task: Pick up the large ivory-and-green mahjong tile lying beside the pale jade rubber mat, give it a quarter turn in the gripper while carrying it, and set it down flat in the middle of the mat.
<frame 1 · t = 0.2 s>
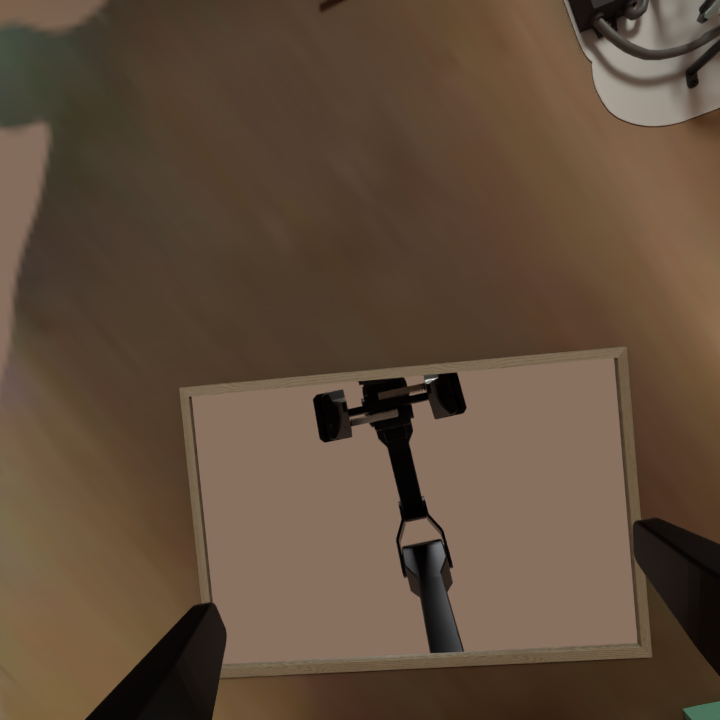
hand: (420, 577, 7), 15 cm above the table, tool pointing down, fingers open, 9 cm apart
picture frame: (408, 510, 24), on the table
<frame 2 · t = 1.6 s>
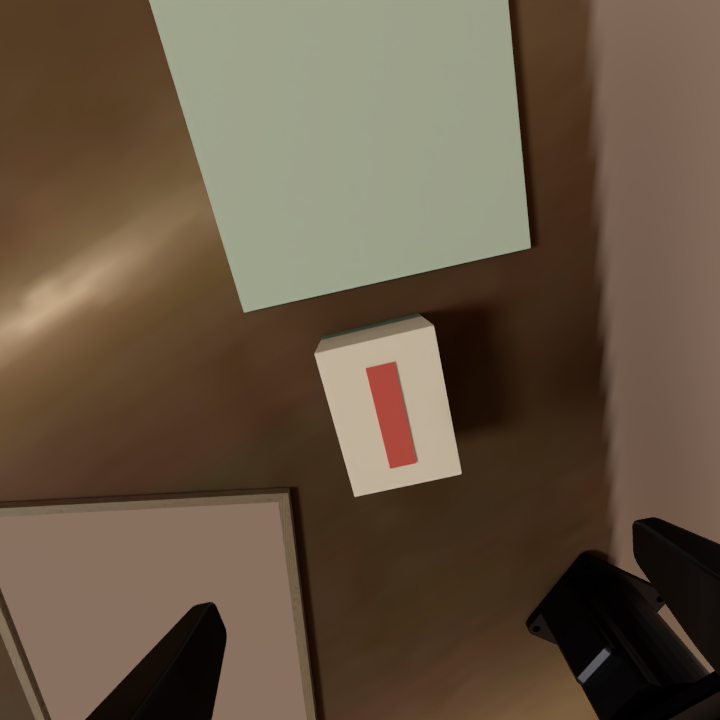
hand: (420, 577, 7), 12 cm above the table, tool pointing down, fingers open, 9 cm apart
mat: (349, 110, 16), on the table
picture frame: (175, 664, 25), on the table
mahjong tile: (384, 386, 19), on the table
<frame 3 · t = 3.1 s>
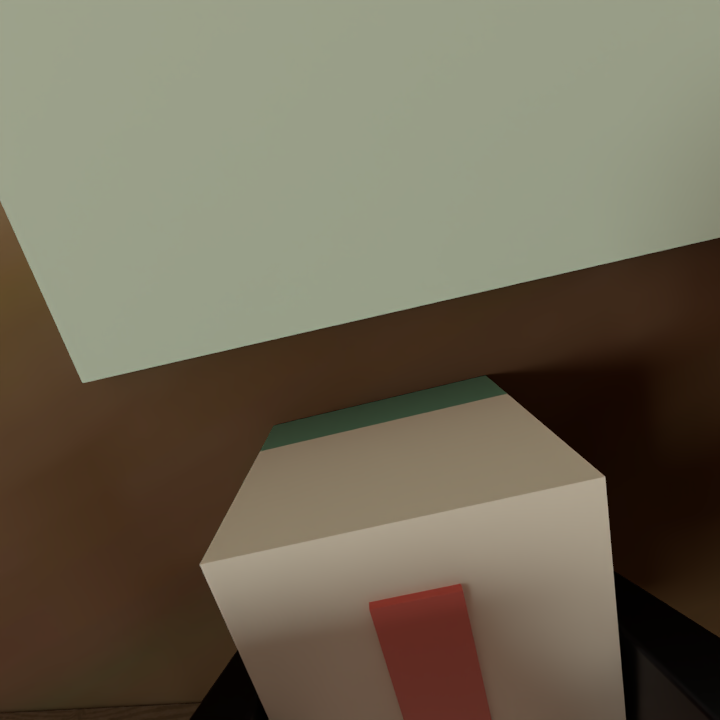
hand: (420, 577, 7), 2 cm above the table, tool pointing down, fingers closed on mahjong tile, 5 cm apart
mahjong tile: (409, 526, 9), on the table, touching gripper
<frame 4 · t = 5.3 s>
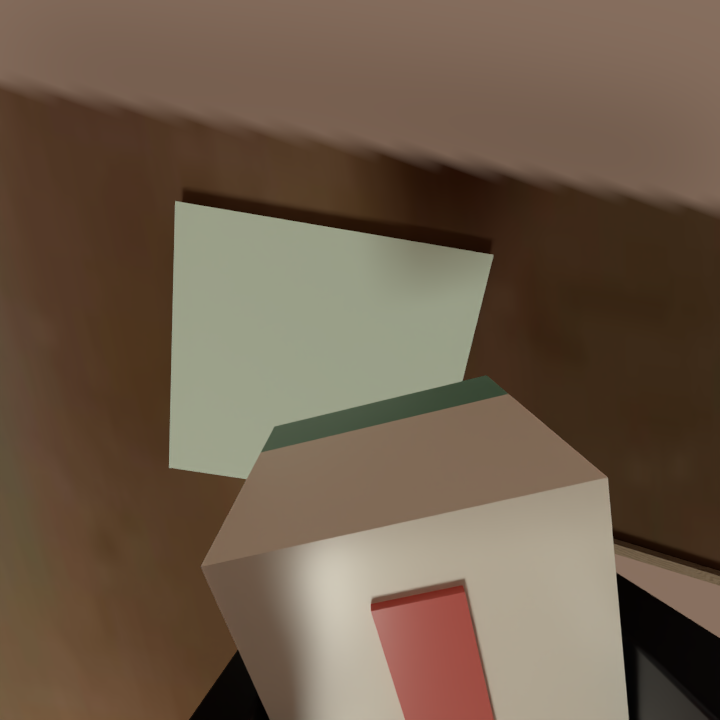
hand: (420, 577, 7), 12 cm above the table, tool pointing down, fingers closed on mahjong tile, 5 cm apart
mat: (318, 367, 19), on the table
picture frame: (701, 687, 25), on the table
mahjong tile: (410, 526, 9), point 10 cm above the table, touching gripper
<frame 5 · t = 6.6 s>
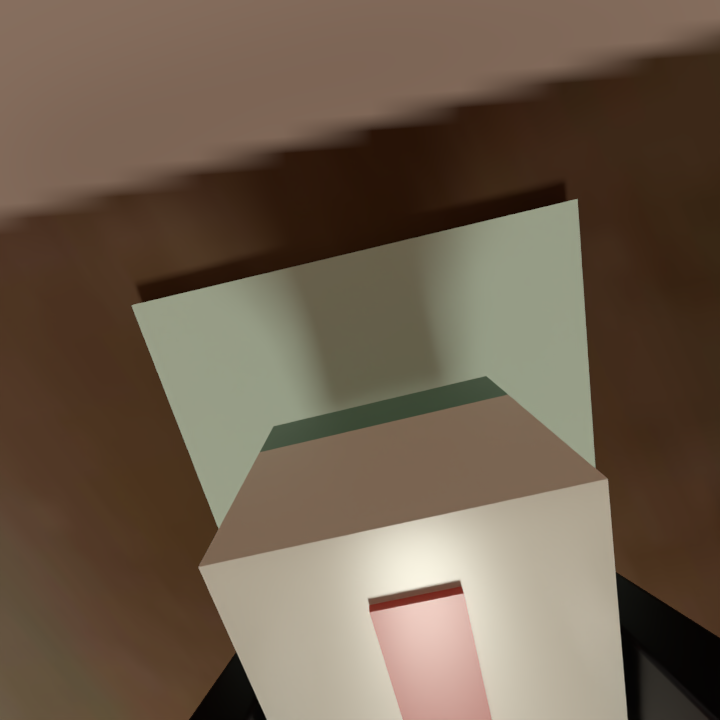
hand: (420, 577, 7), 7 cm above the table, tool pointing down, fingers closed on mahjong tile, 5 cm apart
mat: (389, 435, 14), on the table
mahjong tile: (409, 527, 9), point 5 cm above the table, touching gripper
when the fingers open (3 cm above the table, at t = 7.6 s): mahjong tile drops 1 cm, resting on mat.
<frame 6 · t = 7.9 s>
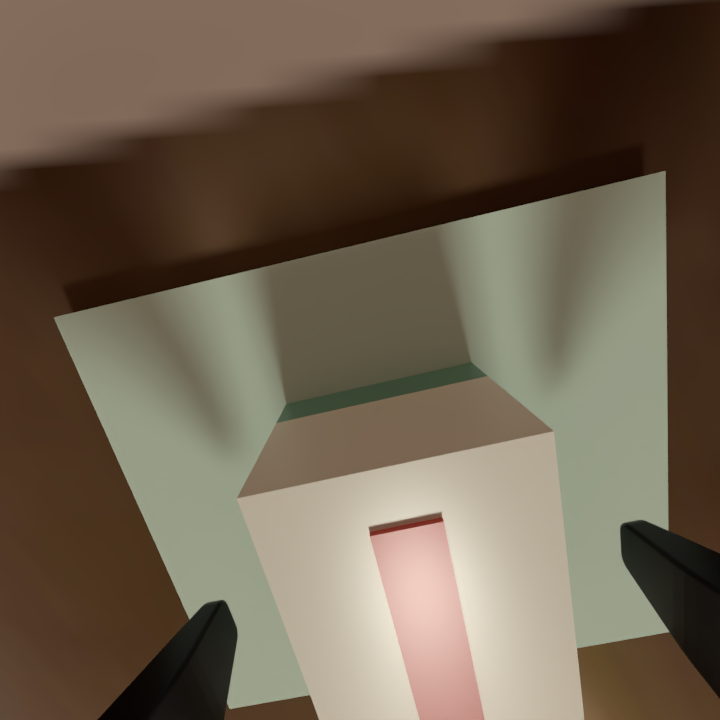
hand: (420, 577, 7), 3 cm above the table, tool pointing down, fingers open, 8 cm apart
mat: (400, 483, 11), on the table
mahjong tile: (403, 495, 10), point 1 cm above the table, touching mat
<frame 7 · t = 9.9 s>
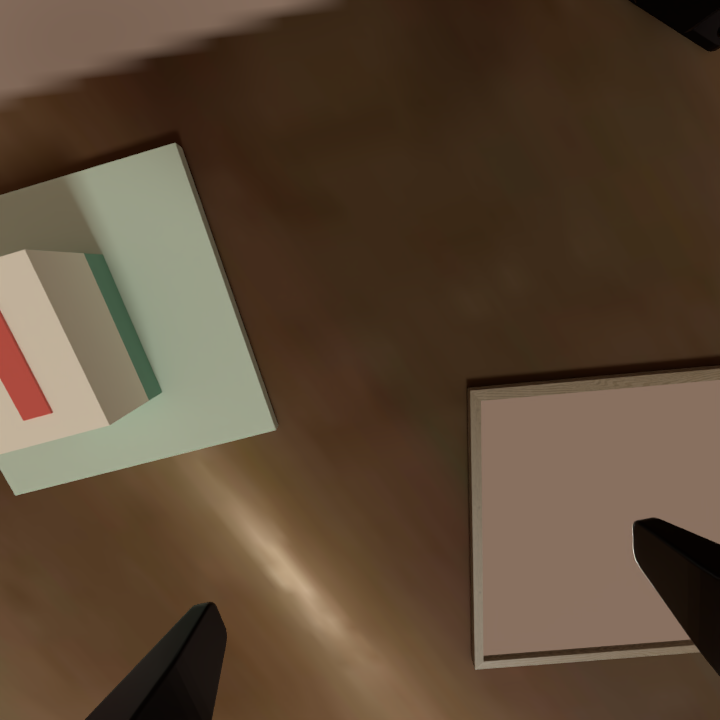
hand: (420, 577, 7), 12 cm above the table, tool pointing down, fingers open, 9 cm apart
mat: (94, 337, 18), on the table
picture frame: (695, 512, 22), on the table
mahjong tile: (86, 340, 17), point 1 cm above the table, touching mat
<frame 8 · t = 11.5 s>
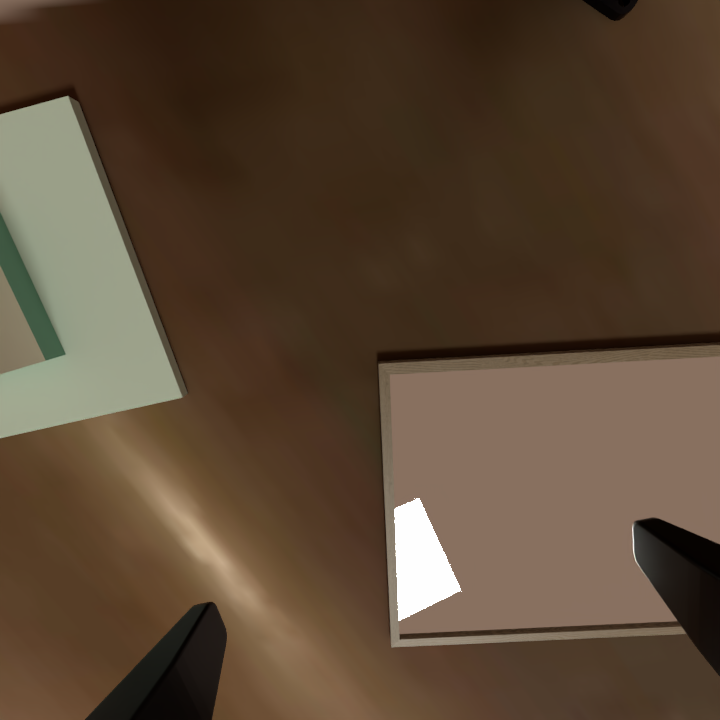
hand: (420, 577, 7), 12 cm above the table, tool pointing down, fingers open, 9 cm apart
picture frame: (612, 497, 22), on the table
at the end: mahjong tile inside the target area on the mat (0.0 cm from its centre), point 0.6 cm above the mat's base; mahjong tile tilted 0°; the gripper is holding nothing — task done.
